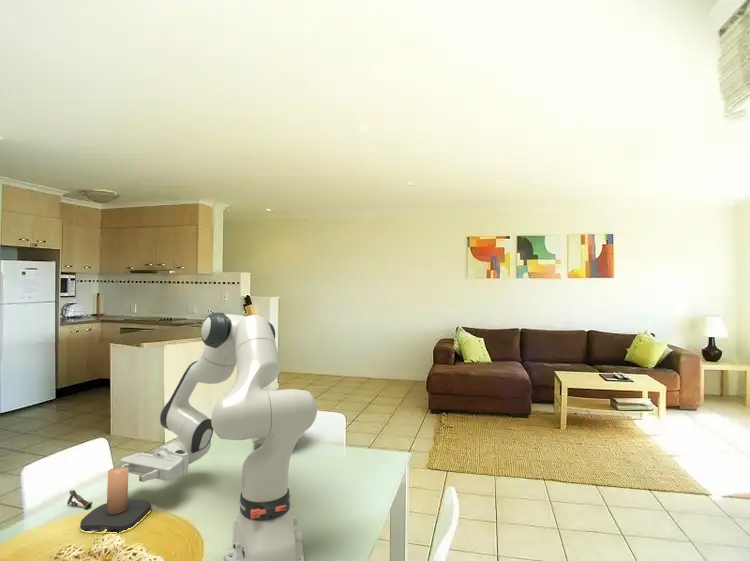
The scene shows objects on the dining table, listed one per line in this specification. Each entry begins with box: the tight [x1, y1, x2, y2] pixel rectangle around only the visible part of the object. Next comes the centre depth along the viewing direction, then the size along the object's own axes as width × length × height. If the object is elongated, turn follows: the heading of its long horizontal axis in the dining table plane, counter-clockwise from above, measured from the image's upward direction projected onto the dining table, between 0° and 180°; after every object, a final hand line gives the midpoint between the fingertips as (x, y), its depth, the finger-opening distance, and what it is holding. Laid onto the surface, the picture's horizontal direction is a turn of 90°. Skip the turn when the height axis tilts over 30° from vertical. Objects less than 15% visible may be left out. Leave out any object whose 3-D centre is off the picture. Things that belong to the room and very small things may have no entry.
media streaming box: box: [79, 498, 152, 533], centre depth 123 cm, size 15×15×3 cm
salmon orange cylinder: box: [106, 466, 129, 515], centre depth 123 cm, size 5×5×11 cm
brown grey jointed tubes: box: [66, 489, 93, 510], centre depth 130 cm, size 2×8×4 cm, turn 75°
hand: (128, 476), depth 127 cm, fingers open, 8 cm apart
